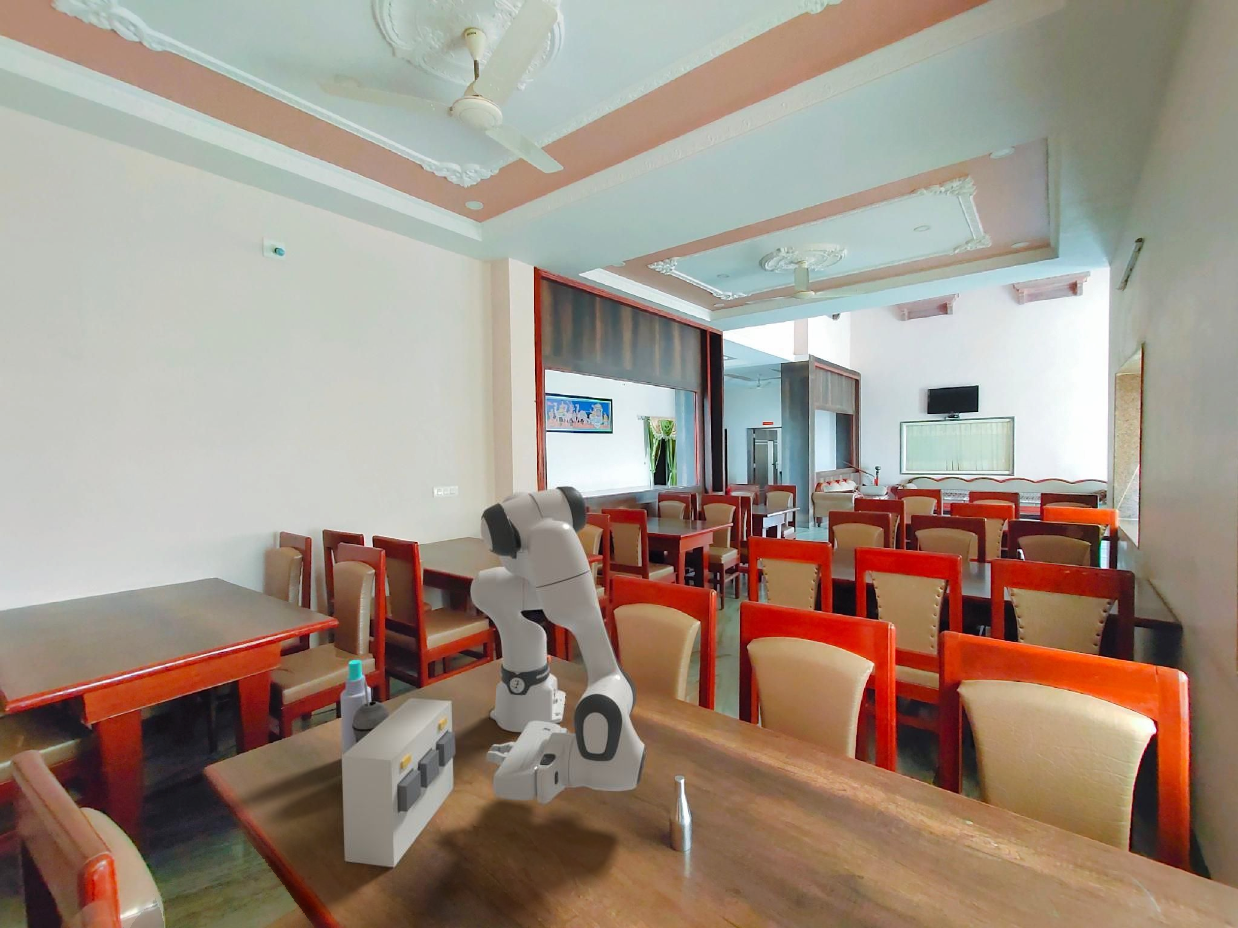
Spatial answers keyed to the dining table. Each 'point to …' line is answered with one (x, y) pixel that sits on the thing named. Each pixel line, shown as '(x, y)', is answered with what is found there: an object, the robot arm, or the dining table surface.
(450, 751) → the key
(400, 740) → the key panel
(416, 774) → the key
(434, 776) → the key middle
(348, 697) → the spray bottle
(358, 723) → the beverage cup
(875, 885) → the dining table surface
